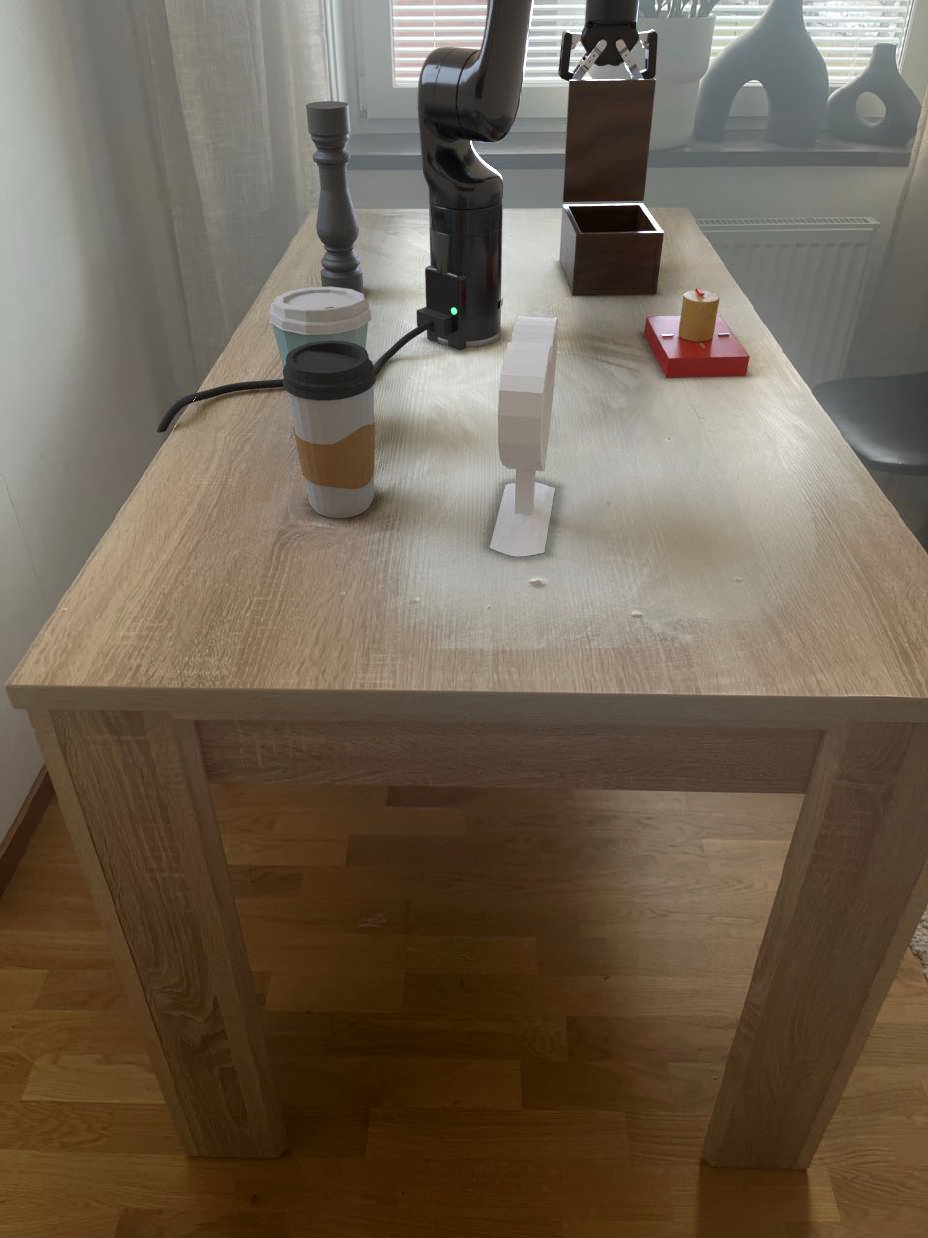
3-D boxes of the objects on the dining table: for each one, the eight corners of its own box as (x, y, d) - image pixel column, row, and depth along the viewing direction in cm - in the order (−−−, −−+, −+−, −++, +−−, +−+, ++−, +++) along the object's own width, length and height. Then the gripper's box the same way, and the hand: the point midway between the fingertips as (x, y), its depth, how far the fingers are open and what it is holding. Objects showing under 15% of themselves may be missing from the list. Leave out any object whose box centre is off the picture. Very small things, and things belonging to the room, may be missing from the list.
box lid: (656, 79, 133) (649, 74, 137) (569, 80, 133) (565, 75, 137) (643, 200, 143) (637, 192, 147) (563, 202, 143) (558, 194, 147)
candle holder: (361, 300, 135) (347, 108, 120) (319, 300, 135) (300, 108, 120) (366, 286, 140) (353, 100, 125) (325, 286, 140) (307, 100, 125)
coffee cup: (342, 472, 95) (328, 331, 86) (401, 499, 91) (393, 353, 82) (281, 505, 90) (259, 359, 81) (341, 535, 86) (325, 384, 77)
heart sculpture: (542, 565, 82) (553, 373, 71) (486, 559, 83) (489, 369, 72) (556, 478, 94) (568, 303, 83) (508, 474, 95) (513, 300, 84)
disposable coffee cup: (274, 415, 106) (255, 283, 97) (364, 400, 109) (355, 271, 100) (295, 457, 98) (277, 318, 89) (391, 439, 101) (384, 303, 92)
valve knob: (717, 341, 116) (724, 299, 113) (682, 341, 116) (688, 299, 113) (708, 328, 119) (715, 287, 116) (674, 328, 119) (680, 287, 116)
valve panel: (746, 375, 114) (750, 355, 112) (665, 377, 114) (668, 356, 112) (717, 333, 125) (720, 313, 123) (643, 334, 125) (646, 315, 123)
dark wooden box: (656, 294, 137) (664, 232, 131) (572, 295, 137) (576, 233, 131) (636, 261, 149) (642, 203, 144) (559, 262, 149) (562, 204, 143)
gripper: (567, -15, 127) (560, 116, 137) (669, -16, 128) (654, 115, 138) (560, -20, 133) (554, 107, 143) (658, -21, 134) (645, 106, 144)
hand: (603, 111), depth 141 cm, fingers open, 8 cm apart
